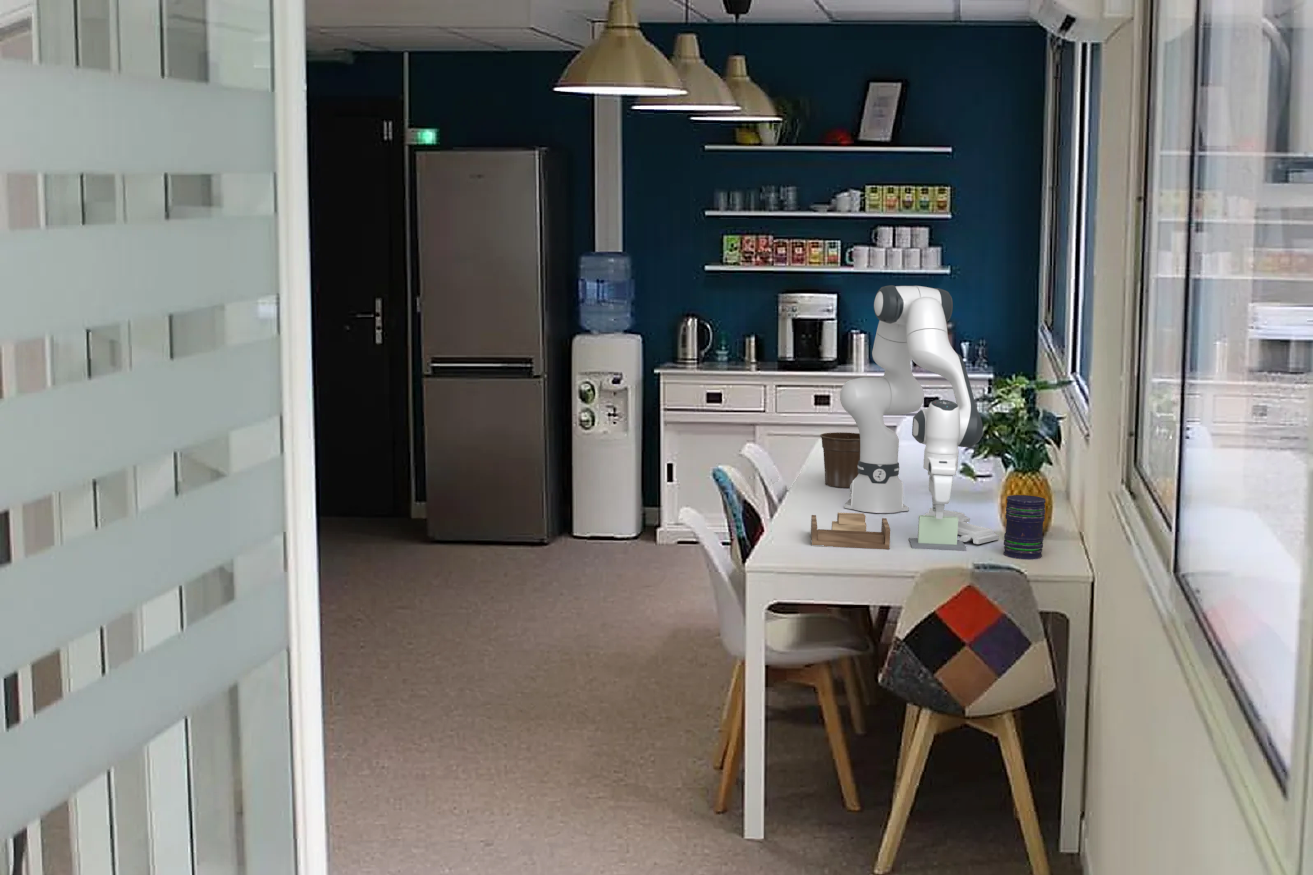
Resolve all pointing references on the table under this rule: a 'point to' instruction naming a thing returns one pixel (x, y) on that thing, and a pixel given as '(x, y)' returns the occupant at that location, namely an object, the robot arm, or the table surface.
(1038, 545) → the storage jar
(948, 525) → the wide pale green sheet
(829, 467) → the plant pot
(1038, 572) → the table surface
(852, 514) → the offcut top
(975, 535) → the molding
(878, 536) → the rack
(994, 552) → the table surface
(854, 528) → the offcut low
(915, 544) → the mat
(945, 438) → the robot arm
